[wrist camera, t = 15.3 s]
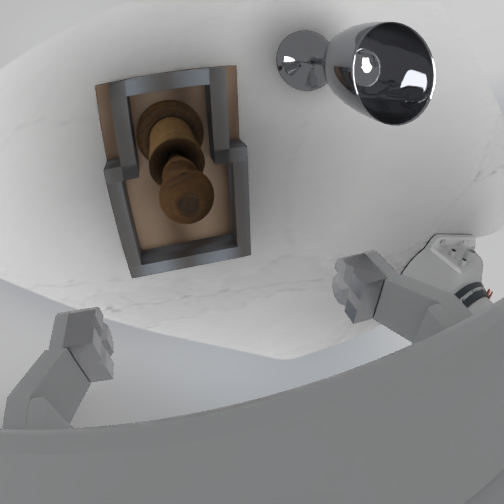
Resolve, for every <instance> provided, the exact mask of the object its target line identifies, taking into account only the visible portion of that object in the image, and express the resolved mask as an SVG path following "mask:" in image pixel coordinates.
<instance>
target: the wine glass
mask: <svg viewBox="0 0 504 504" xmlns="http://www.w3.org/2000/svg"><path fill="white" fill-rule="evenodd" d="M277 67H278V70H279V72H280V75H281V76H282V78H283V79H284V80H285V81H286V82H287V83H288V84H289V85H290V86H292V87H294V88H296V89H299V90H303V91H311V90H316V89H318V88H321V87H322V86H324V85H325V84H326V83H327V84H328V85H329V87H330V88H331V90H332V91H333V92H334V94H335V95H336V96H337V97H338V98H339V99H340V100H342V101H343V102H344V103H345V104H347V105H348V106H350V107H351V108H353V109H354V110H356V111H357V112H359V113H361V114H363V115H365V116H367V117H369V118H372V119H374V120H376V121H379V122H381V123H384V124H388V125H403V124H407V123H409V122H411V121H413V120H415V119H416V118H417V117H419V116H420V115H421V114H422V112H423V111H424V110H425V109H426V107H427V106H428V104H429V102H430V100H431V97H432V94H433V91H434V86H435V66H434V61H433V57H432V54H431V51H430V49H429V47H428V46H427V44H426V42H425V41H424V39H423V38H422V37H421V36H420V35H419V34H418V33H417V32H416V31H415V30H413V29H412V28H410V27H409V26H406V25H404V24H401V23H397V22H371V23H364V24H360V25H357V26H353V27H350V28H348V29H346V30H344V31H342V32H340V33H339V34H338V35H336V36H335V37H334V38H333V39H332V40H331V41H330V42H328V41H327V40H326V39H325V38H324V37H323V36H321V35H320V34H318V33H315V32H312V31H298V32H295V33H292V34H291V35H289V36H288V37H286V38H285V39H284V41H283V42H282V43H281V45H280V47H279V49H278V52H277Z"/></svg>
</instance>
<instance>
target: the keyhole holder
mask: <svg viewBox="0 0 504 504" xmlns="http://www.w3.org/2000/svg"><path fill="white" fill-rule="evenodd" d="M95 89H96V97H97V104H98V111H99V117H100V123H101V130H102V135H103V141H104V147H105V152H106V157H107V163H106V165H105V168H104V175H105V179H106V184H107V188H108V192H109V197H110V201H111V205H112V209H113V213H114V217H115V221H116V225H117V228H118V232H119V236H120V239H121V243H122V246H123V250H124V253H125V257H126V260H127V263H128V267H129V270H130V273H131V276H132V278H136V277H141V276H146V275H152V274H157V273H162V272H167V271H172V270H177V269H182V268H188V267H193V266H198V265H203V264H208V263H213V262H218V261H223V260H229V259H234V258H239V257H244V256H249V255H251V243H250V214H249V185H248V156H247V146H246V145H245V144H244V143H243V142H242V141H241V140H240V139H239V118H238V93H237V68H236V66H220V67H208V68H198V69H188V70H180V71H172V72H165V73H158V74H152V75H146V76H140V77H135V78H129V79H124V80H119V81H115V82H110V83H106V84H101V85H97V86H95ZM163 100H177V101H181V102H183V103H185V104H187V105H189V106H190V107H191V108H192V109H193V110H194V111H195V112H196V113H197V115H198V116H199V118H200V119H201V122H202V124H203V129H204V139H203V143H202V146H201V150H202V152H203V154H204V157H205V168H204V171H203V174H205V175H206V176H207V177H208V179H209V180H210V181H211V183H212V186H213V189H214V202H213V206H212V208H211V210H210V212H209V213H208V214H207V215H206V216H205V217H204V218H203V219H202V220H200V221H198V222H196V223H193V224H180V223H177V222H174V221H172V220H171V219H169V218H168V217H167V216H166V215H165V213H164V212H163V210H162V208H161V206H160V202H159V190H160V187H161V186H159V185H158V184H157V183H156V182H155V181H154V180H153V179H152V177H151V175H150V172H149V161H148V160H147V159H146V158H145V157H144V156H143V155H142V153H141V151H140V149H139V147H138V144H137V138H136V133H137V125H138V122H139V119H140V117H141V116H142V114H143V113H144V111H145V110H146V109H147V108H148V107H150V106H151V105H153V104H155V103H157V102H159V101H163Z"/></svg>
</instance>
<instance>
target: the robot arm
mask: <svg viewBox="0 0 504 504" xmlns="http://www.w3.org/2000/svg"><path fill="white" fill-rule="evenodd" d="M474 249H475V237H474V236H473V235H453V234H436V235H435V236H434V237H433V238H432V239H431V240H430V242H429V243H428V244H427V246H426V247H425V248H424V249H423V250H422V251H421V252H420V253H419V254H418V255H417V256H416V257H415V258H414V259H413V260H412V261H411V262H410V263H409V265H408V266H407V267H406V269H405V270H404V272H403V273H402V275H399V274H398V273H397V272H396V271H395V270H394V269H393V268H392V267H391V266H390V265H389V264H388V263H387V261H386V260H385V259H384V258H383V257H382V256H381V255H380V254H379V253H378V252H377V251H374V250H372V251H368V252H364V253H361V254H357V255H352V256H348V257H344V258H339V259H337V261H336V264H335V269H336V271H337V272H338V273H337V274H336V275H335V277H334V278H333V284H332V287H333V293H334V295H335V298H336V299H337V301H338V302H339V303H340V304H342V305H344V306H346V307H345V312H346V314H347V315H348V317H349V318H350V319H351V321H352V322H353V324H355V323H358V322H361V321H365V320H368V319H371V318H373V319H374V320H376V321H377V322H379V323H381V324H382V325H384V326H386V327H388V328H389V329H391V330H393V331H394V332H396V333H397V334H399V335H401V336H402V337H404V338H406V339H407V340H409V341H411V342H412V345H410V346H408V347H406V348H403V349H401V350H399V351H396V352H394V353H392V354H389V355H387V356H384V357H382V358H379V359H377V360H375V361H372V362H369V363H367V364H364V365H362V366H359V367H356V368H353V369H351V370H348V371H345V372H343V373H340V374H337V375H334V376H331V377H328V378H325V379H322V380H319V381H316V382H313V383H310V384H307V385H303V386H300V387H297V388H294V389H290V390H287V391H284V392H280V393H277V394H273V395H270V396H266V397H262V398H258V399H254V400H251V401H247V402H243V403H238V404H235V405H230V406H225V407H221V408H217V409H212V410H207V411H202V412H197V413H192V414H186V415H181V416H175V417H169V418H163V419H156V420H150V421H143V422H135V423H127V424H118V425H109V426H98V427H85V428H73V427H72V426H71V425H70V422H71V420H72V418H73V416H74V414H75V412H76V411H77V409H78V407H79V405H80V403H81V401H82V399H83V397H84V396H85V394H86V392H87V389H88V388H89V386H90V384H91V382H97V381H103V380H110V379H113V361H112V359H111V357H110V356H111V355H112V353H113V341H112V335H111V332H110V329H109V327H108V325H107V324H105V323H104V322H103V314H102V312H101V310H100V308H98V307H94V308H87V309H80V310H73V311H68V312H62V313H58V314H57V315H56V317H55V321H54V326H53V330H52V335H51V340H50V346H49V350H45V351H44V352H43V354H42V355H41V356H40V357H39V358H38V360H37V361H36V362H35V363H34V365H33V366H32V367H31V368H30V369H29V371H28V372H27V373H26V374H25V376H24V377H23V378H22V379H21V381H20V382H19V383H18V384H17V386H16V387H15V388H14V390H13V391H12V392H11V393H10V395H9V396H8V397H7V402H6V408H5V414H4V422H3V429H0V504H504V298H502V299H501V300H499V301H497V302H495V303H494V304H493V303H492V302H491V301H490V300H489V299H490V297H491V295H492V293H493V292H491V294H490V295H489V292H490V289H489V290H488V291H487V292H486V290H485V288H484V287H483V285H482V283H481V281H482V270H483V261H482V259H481V257H480V256H479V255H478V254H477V253H476V252H475V251H474ZM488 295H489V296H488Z"/></svg>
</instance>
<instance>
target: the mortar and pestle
mask: <svg viewBox="0 0 504 504" xmlns="http://www.w3.org/2000/svg"><path fill="white" fill-rule="evenodd" d="M136 138H137V144H138V147H139V149H140V151H141V153H142V155H143V156H144V157H145V158H146V159H147V160H148V161H149V172H150V175H151V177H152V179H153V180H154V181H155V182H156V183H157V184H158V185H159V186H161V187H160V190H159V202H160V206H161V208H162V210H163V212H164V213H165V215H166V216H167V217H168V218H169V219H171V220H172V221H174V222H177V223H180V224H193V223H196V222H198V221H200V220H202V219H203V218H204V217H205V216H206V215H207V214H208V213H209V212H210V210H211V208H212V206H213V202H214V189H213V186H212V183H211V181H210V180H209V179H208V177H207V176H206V175H205V174H203V171H204V168H205V157H204V154H203V152H202V150H201V146H202V143H203V139H204V129H203V124H202V122H201V119H200V118H199V116H198V115H197V113H196V112H195V111H194V110H193V109H192V108H191V107H190V106H189V105H187V104H185V103H183V102H181V101H177V100H163V101H159V102H157V103H155V104H153V105H151V106H150V107H148V108H147V109H146V110H145V111H144V113H143V114H142V116H141V117H140V119H139V122H138V125H137V133H136Z"/></svg>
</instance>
